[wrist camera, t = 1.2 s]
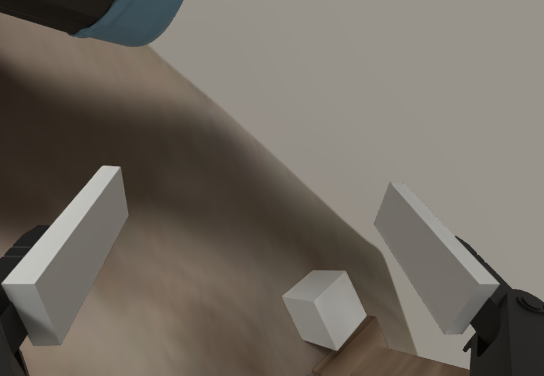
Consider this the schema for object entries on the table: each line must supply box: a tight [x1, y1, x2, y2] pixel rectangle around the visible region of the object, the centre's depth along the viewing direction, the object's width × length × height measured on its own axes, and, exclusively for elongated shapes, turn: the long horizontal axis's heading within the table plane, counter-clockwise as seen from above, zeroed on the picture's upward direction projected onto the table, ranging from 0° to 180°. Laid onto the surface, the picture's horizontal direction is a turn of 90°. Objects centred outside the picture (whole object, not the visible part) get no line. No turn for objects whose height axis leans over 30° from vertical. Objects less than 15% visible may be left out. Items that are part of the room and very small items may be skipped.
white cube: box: [282, 270, 367, 351], centre depth 35 cm, size 6×6×6 cm
